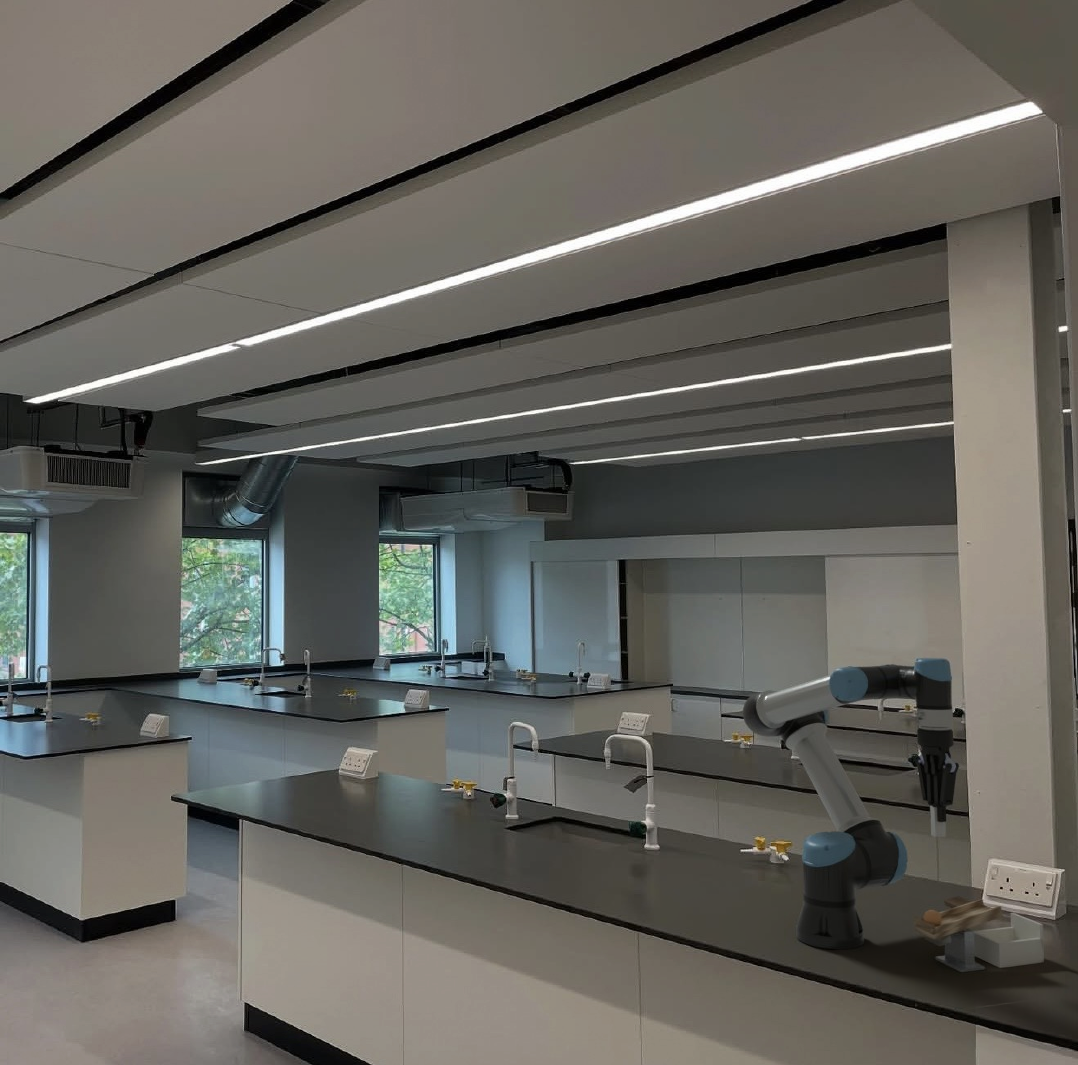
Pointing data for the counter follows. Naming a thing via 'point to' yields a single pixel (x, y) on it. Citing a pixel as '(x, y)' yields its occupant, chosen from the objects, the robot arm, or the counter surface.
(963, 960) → the fulcrum
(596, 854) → the counter surface
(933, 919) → the ball
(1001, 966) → the grey open bin
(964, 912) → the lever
